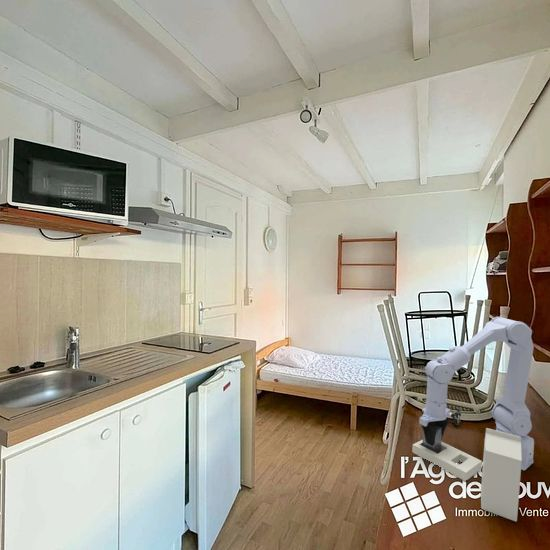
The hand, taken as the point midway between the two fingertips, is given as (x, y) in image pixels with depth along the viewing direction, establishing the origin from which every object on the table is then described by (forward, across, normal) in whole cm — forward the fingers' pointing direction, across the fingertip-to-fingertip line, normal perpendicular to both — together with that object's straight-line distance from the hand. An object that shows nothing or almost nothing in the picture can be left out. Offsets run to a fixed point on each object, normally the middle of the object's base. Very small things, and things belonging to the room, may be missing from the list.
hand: (433, 441), depth 102 cm
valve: (+4, -25, -10) cm, 28 cm away
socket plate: (+4, 0, +4) cm, 6 cm away
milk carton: (+4, +8, +21) cm, 23 cm away
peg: (+3, 0, 0) cm, 3 cm away
